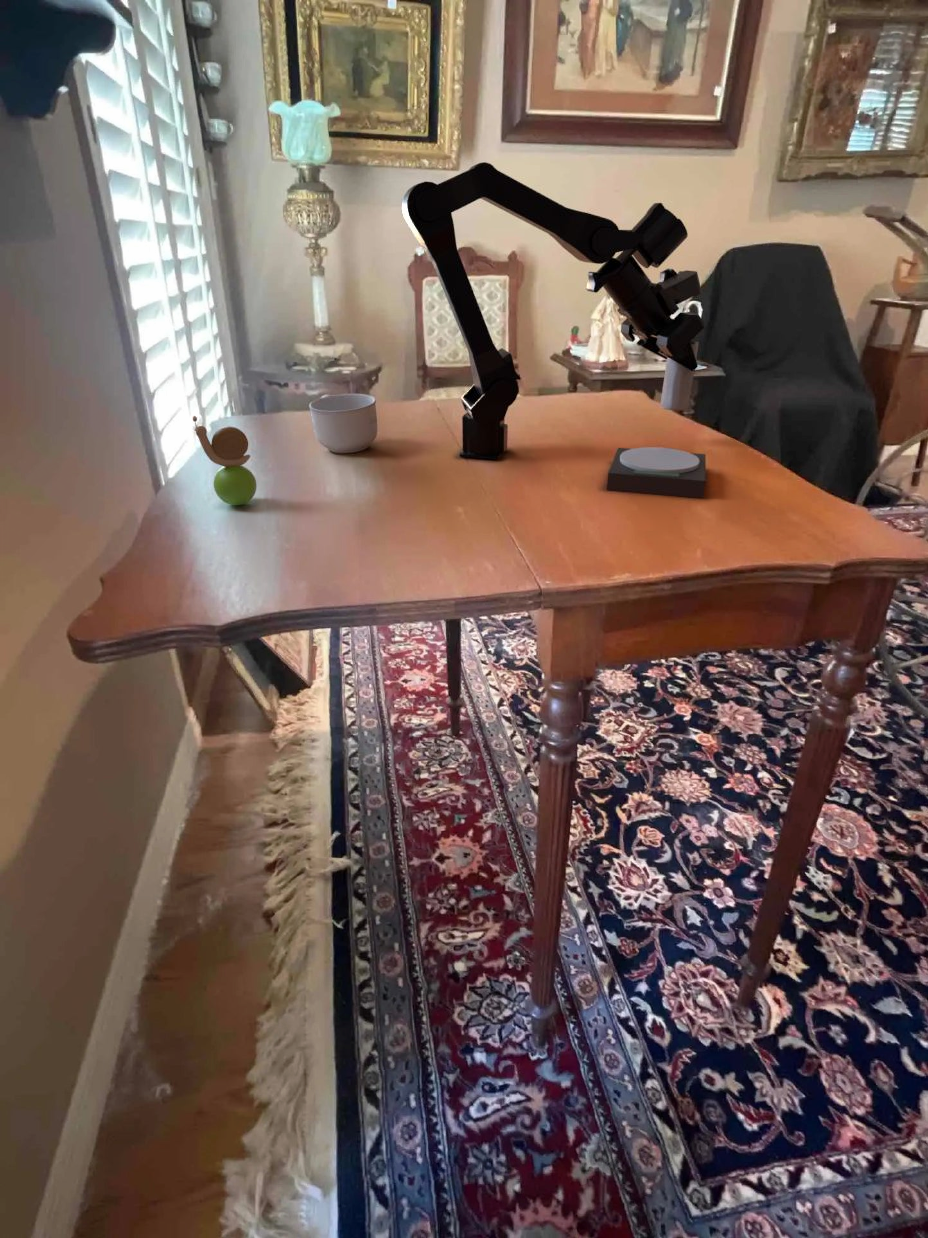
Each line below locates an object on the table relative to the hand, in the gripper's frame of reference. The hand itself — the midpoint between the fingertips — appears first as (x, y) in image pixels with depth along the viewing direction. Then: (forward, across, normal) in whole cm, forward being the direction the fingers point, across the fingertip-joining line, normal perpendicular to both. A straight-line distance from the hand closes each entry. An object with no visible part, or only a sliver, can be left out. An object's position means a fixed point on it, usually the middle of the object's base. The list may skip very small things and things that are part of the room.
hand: (688, 366), depth 112 cm
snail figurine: (-41, -16, +60) cm, 75 cm away
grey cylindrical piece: (+4, 0, +6) cm, 7 cm away
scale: (0, -18, +17) cm, 25 cm away
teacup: (-30, +10, +49) cm, 58 cm away
